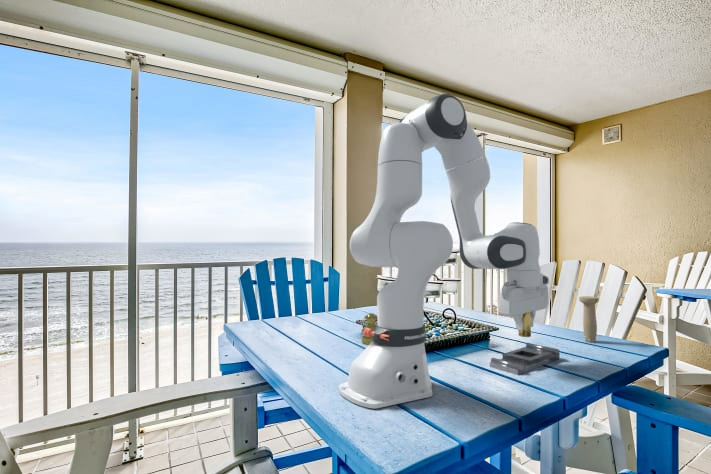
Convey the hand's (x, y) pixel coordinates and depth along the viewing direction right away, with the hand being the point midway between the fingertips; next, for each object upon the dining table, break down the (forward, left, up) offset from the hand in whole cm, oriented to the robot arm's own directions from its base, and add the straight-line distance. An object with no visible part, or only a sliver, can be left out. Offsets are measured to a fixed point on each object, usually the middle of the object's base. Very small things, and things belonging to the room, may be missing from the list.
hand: (524, 328), depth 103 cm
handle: (+38, -1, -10) cm, 40 cm away
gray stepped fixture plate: (-4, 0, -9) cm, 10 cm away
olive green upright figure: (-21, +45, -10) cm, 50 cm away
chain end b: (+2, 0, -9) cm, 10 cm away
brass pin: (0, 0, -2) cm, 2 cm away
